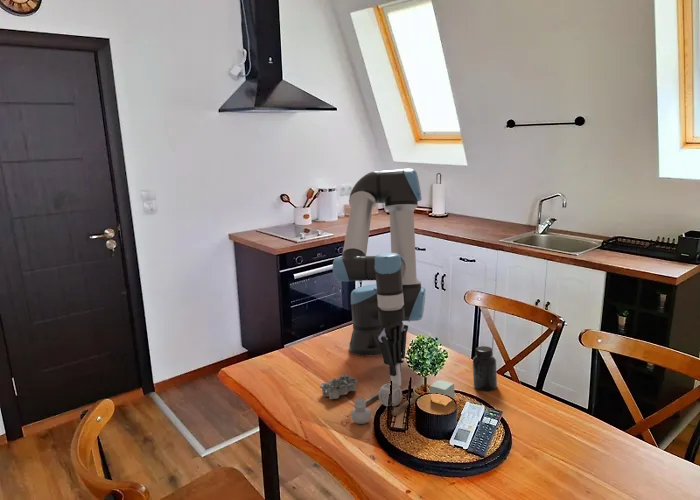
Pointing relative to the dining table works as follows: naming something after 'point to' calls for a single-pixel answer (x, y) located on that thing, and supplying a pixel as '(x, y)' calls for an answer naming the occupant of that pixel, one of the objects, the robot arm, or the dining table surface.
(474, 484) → the dining table surface
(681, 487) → the dining table surface
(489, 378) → the supplement bottle
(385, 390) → the die
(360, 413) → the grey rounded piece
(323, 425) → the dining table surface
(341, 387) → the egg carton
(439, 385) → the sage block
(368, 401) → the rails
